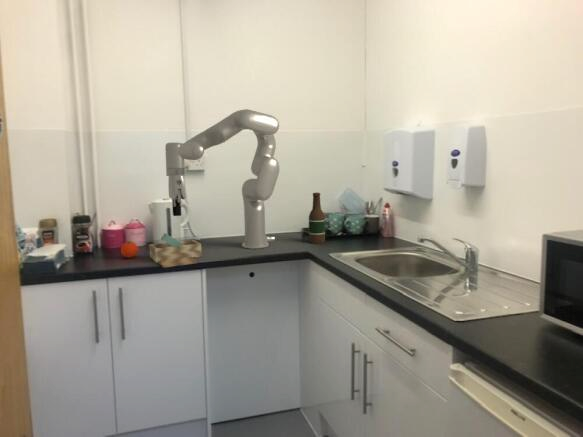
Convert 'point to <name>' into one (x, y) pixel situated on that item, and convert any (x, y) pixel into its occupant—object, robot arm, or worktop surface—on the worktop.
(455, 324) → the worktop surface
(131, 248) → the clementine
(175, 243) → the teal block
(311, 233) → the beer bottle
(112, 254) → the worktop surface
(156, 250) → the woven basket
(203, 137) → the robot arm
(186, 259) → the cork trivet
